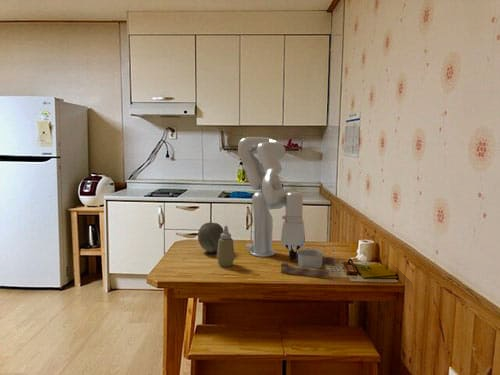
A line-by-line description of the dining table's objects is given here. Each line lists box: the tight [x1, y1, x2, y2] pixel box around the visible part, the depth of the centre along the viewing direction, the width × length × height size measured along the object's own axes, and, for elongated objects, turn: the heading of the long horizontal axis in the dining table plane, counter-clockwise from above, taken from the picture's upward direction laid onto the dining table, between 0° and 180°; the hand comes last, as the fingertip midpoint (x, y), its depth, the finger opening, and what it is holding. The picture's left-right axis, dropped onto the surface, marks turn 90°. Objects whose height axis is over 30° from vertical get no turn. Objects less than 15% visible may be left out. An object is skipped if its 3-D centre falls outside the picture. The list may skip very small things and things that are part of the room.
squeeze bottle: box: [216, 225, 235, 268], centre depth 174 cm, size 8×8×18 cm
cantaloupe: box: [197, 221, 224, 254], centre depth 195 cm, size 14×14×15 cm
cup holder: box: [280, 253, 335, 279], centre depth 173 cm, size 20×21×4 cm
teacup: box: [297, 248, 324, 269], centre depth 172 cm, size 14×11×8 cm
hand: (292, 259), depth 175 cm, fingers closed
